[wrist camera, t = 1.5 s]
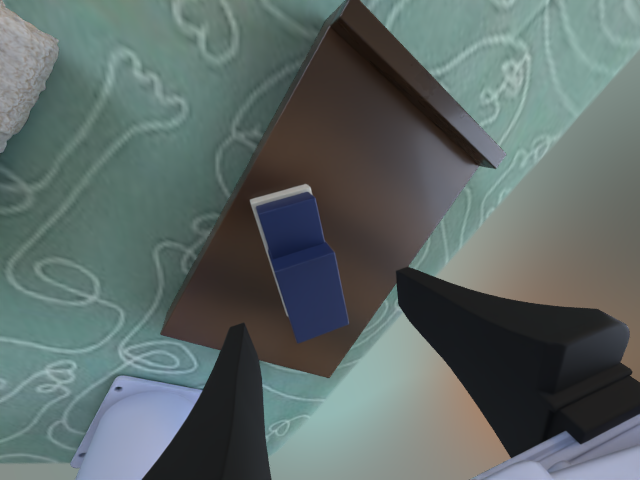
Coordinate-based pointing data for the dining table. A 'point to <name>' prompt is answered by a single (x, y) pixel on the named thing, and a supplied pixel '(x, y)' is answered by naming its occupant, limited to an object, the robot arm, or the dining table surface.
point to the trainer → (301, 261)
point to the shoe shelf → (337, 190)
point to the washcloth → (21, 70)
